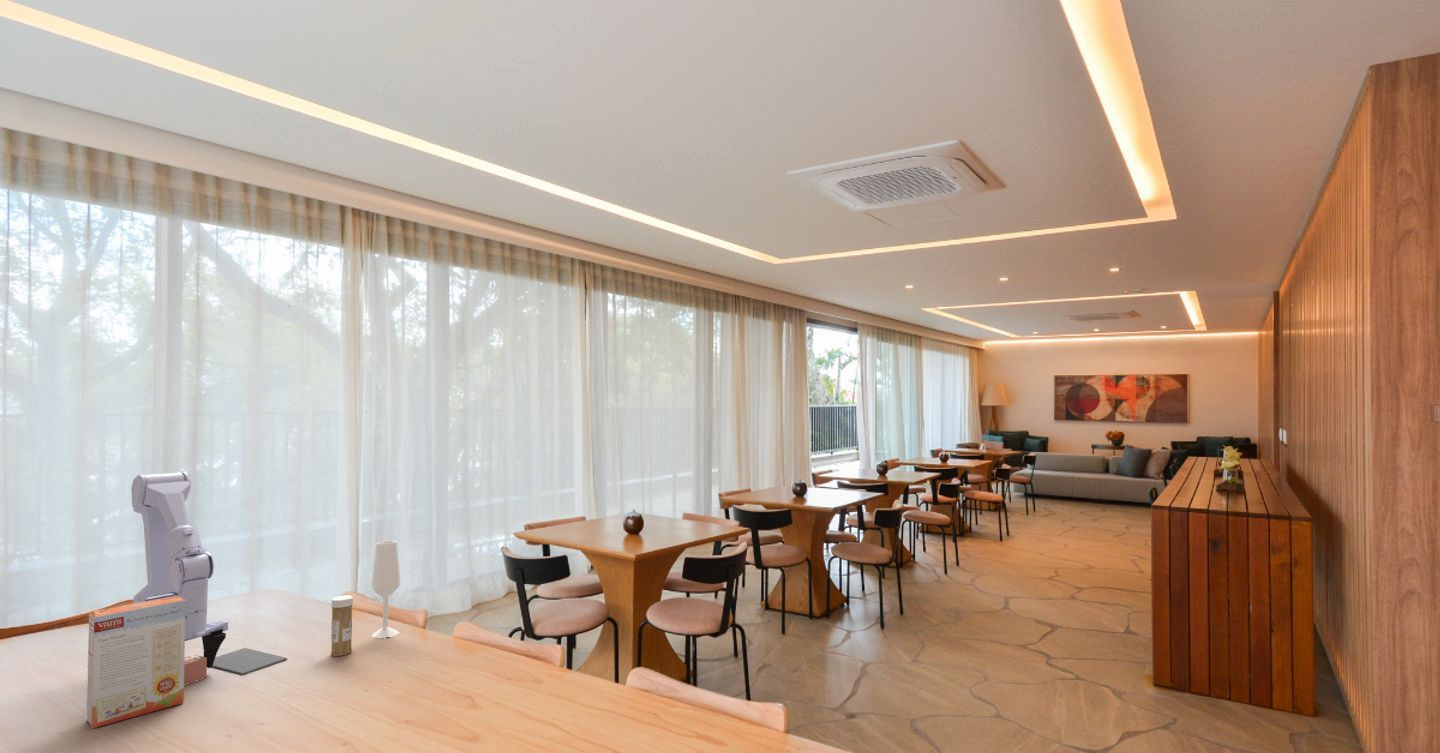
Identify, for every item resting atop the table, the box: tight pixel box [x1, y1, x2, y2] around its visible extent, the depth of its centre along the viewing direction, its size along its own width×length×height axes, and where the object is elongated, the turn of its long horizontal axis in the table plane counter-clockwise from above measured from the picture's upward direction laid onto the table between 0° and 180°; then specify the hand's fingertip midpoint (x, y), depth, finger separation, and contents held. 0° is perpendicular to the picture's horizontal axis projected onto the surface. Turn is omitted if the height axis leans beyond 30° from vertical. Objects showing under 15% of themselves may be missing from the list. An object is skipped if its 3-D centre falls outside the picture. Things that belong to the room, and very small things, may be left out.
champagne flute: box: [371, 539, 401, 639], centre depth 179 cm, size 7×7×24 cm
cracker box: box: [86, 596, 186, 729], centre depth 134 cm, size 14×6×21 cm, turn 141°
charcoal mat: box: [212, 647, 288, 676], centre depth 160 cm, size 16×10×1 cm, turn 66°
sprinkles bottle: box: [330, 595, 354, 657], centre depth 165 cm, size 5×5×14 cm
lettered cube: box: [184, 654, 207, 685], centre depth 149 cm, size 4×4×5 cm
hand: (189, 673), depth 149 cm, fingers open, 7 cm apart
